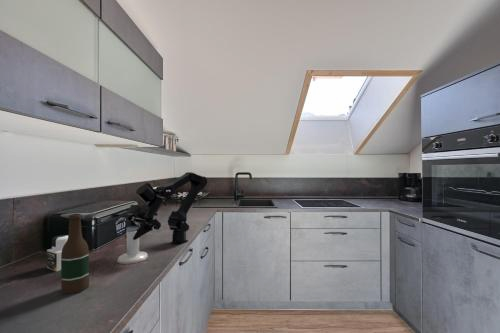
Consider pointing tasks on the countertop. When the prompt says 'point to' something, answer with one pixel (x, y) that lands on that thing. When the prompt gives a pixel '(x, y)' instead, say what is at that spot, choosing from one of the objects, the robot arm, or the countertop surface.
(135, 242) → the grey-topped white cylinder
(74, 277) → the beer bottle
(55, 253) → the medicine bottle
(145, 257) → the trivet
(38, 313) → the countertop surface
